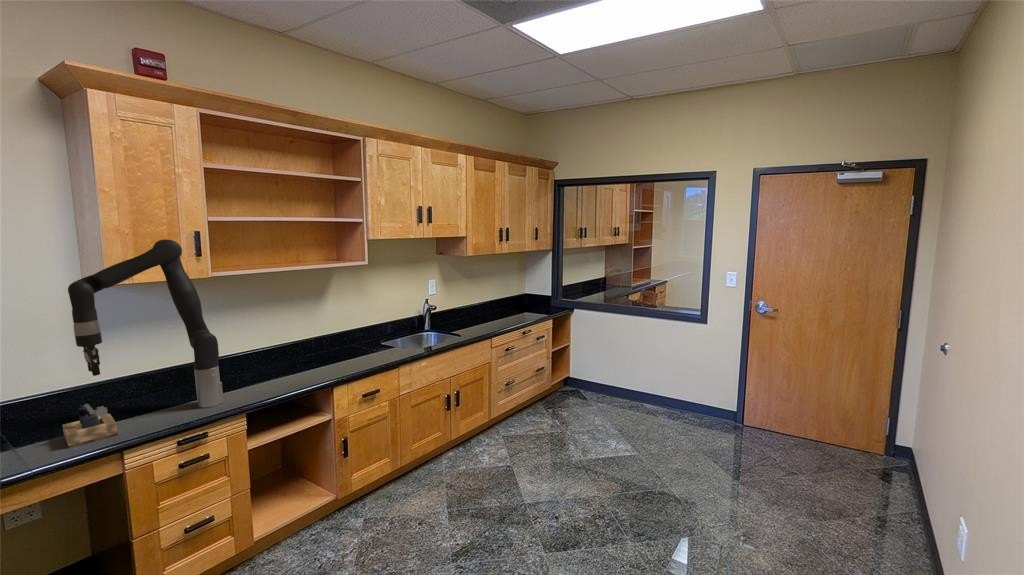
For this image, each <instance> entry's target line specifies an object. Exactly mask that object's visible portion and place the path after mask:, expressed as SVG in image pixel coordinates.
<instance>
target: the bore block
mask: <svg viewBox="0 0 1024 575" xmlns="http://www.w3.org/2000/svg"><path fill="white" fill-rule="evenodd" d="M98 420H99V425H96V426H92V427H88V428H84V429H82V424H81V423H80V420H77V421H72V422H67V423H64V424H62V425H61V426H62V433H63V437H64V440H65V443H66V445H67V447H68V449H71V447H72V448H75V446H76V447H79V446H83V445H86V444H90V443H95V442H97V441H98V442H99V441H102V440H105V439H109V438H113V437H115V436H116V437H118V435H119V433H118V426H117V422H116V420H115V419H114V417H113V416H112V415H111V413H108V414H106V415H101V416H98Z"/></svg>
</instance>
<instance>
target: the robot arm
mask: <svg viewBox="0 0 1024 575" xmlns="http://www.w3.org/2000/svg"><path fill="white" fill-rule="evenodd" d="M182 253H183V249H182V247H181V245H180V243H178V242H177V241H175V240H172V239H159V240H157V241H156V242H155V243H154V244H153V246H152V248H151V249H149V250H148V251H146V252H144V253H140V255H137V256H135V257H132V258H129V259H126V260H123V261H120V262H118V263H116V264H112V265H110V266H108V267H106V268H104V269H102V270H99V271H97V272H95V273H94V274H91V275H88V276H85V277H81V278H80V279H77V280H75V281H73V282H72V283H70V284H69V286H68V288H67V292H68V296H69V300H70V304H71V308H72V309H71V316H72V322H73V334H74V339H75V345H76V346H77V347H79V348H83V350H82V352H83V357H84V360H85V362H86V363H87V370H88V371H89V372H91V374H92V376H93V377H95V376H100V375H101V371H100V364H101V360H100V354H99V348H97V347H96V345H100V344H101V343H103V339H102V331H101V324H100V323H99V318H98V313H97V309H96V306H95V294H96V293H97V292H98V293H99V292H100V291H103V290H104V289H109V288H112V287H114V286H117V285H118V284H120V283H123V282H125V281H127V280H129V279H131V278H133V277H135V276H137V275H138V274H140V273H143V272H145V271H147V270H150V269H152V268H155V267H157V266H160V268H161V270H162V272H163V274H164V277H165V281H166V284H167V288H168V291H169V294H170V296H171V299H172V302H173V304H174V306H175V308H176V311H177V313H178V315H179V317H180V318H181V320H182V322H183V324H184V326H185V329H186V333H187V337H188V342H189V344H190V347H191V348H192V350H193V356H194V358H193V359H194V361H193V370H194V371H193V373H194V380H195V390H196V391H195V392H196V398H197V400H196V401H197V407H198V408H212V407H216V406H218V405H220V404H223V403H224V402H225V401H224V392H223V383H222V381H221V378H220V377H221V376H220V369H219V367H220V366H219V360H220V354H219V353H220V352H219V342H218V339H217V337H216V336H215V335H214V334H213V333H211V332H210V329H209V328H208V326H207V324H206V322H205V320H204V316H203V310H202V303H201V300H200V296H199V294H198V291H197V289H196V287H195V285H194V283H193V281H192V280H191V277H189V276H188V274H187V272H186V271H185V268H184V266H183V264H182V263H183V262H182V259H181V256H182Z"/></svg>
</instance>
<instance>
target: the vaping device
mask: <svg viewBox="0 0 1024 575" xmlns="http://www.w3.org/2000/svg"><path fill="white" fill-rule="evenodd" d="M84 405H85V404H80V407H78V415H79V421H80V423H81V424H82V429H84V428H88V427H92V426H96V425H99V420H98V416H97V414H96V412H92V413H89V412H88V411H87V407H84Z"/></svg>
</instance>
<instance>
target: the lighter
mask: <svg viewBox="0 0 1024 575" xmlns="http://www.w3.org/2000/svg"><path fill="white" fill-rule="evenodd" d="M83 405H84V407H87V413H88V414H89V413H92V412H96V414H97V416H101V415H106V414H109V412H108V407H106V406H105V407H104V406H103V405H101V406H97V407H96V409H93V408H92V406H91V405H90V404H88V403H85V404H83Z"/></svg>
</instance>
